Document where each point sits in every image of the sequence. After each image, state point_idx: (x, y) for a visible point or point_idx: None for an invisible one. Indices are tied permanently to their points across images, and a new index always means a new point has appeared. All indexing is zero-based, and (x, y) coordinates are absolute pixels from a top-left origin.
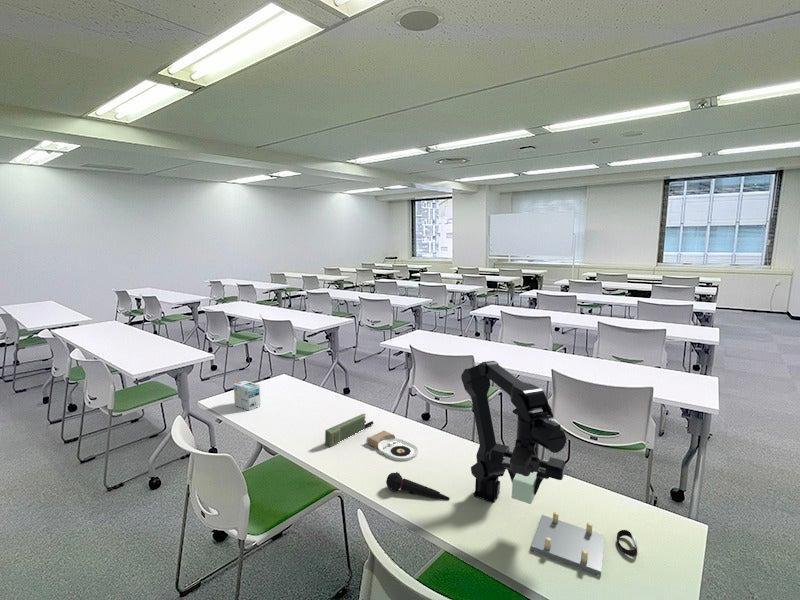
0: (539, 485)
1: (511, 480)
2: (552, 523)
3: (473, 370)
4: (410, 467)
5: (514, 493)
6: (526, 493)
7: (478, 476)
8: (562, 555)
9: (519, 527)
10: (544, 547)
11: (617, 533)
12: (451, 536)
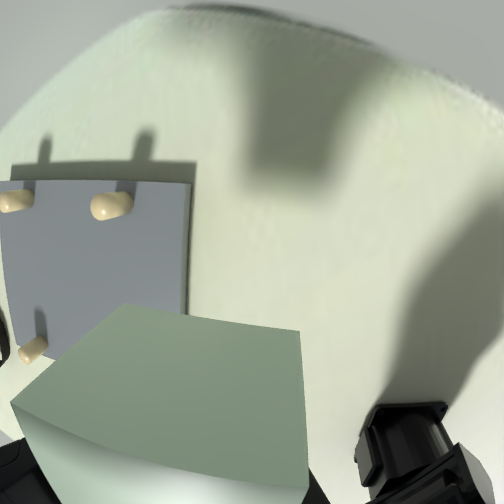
0: (19, 440)
1: (321, 491)
2: None
3: None
4: None
5: (272, 358)
6: (124, 356)
7: (469, 458)
8: (76, 190)
9: (257, 308)
10: (133, 201)
11: (2, 356)
12: (494, 138)
